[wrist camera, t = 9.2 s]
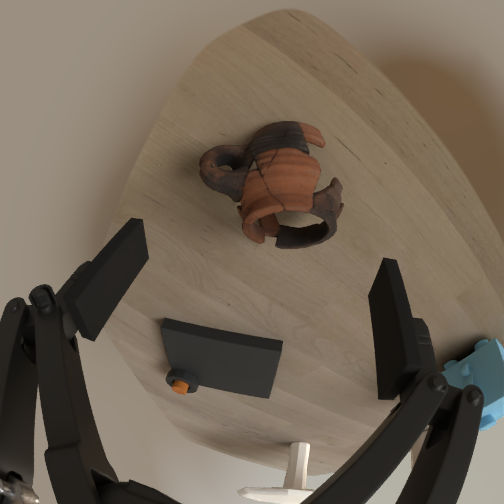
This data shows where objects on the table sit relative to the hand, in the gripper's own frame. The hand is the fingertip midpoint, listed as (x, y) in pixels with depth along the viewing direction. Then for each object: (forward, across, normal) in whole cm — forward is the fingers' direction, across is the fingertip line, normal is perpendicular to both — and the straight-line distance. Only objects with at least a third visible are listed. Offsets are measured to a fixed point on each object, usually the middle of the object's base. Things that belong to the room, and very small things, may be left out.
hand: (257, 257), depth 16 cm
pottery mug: (+13, 0, 0) cm, 13 cm away
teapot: (+13, +35, -27) cm, 46 cm away
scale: (+13, -5, -31) cm, 34 cm away
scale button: (+10, -12, -37) cm, 40 cm away
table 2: (+13, +15, -69) cm, 72 cm away
